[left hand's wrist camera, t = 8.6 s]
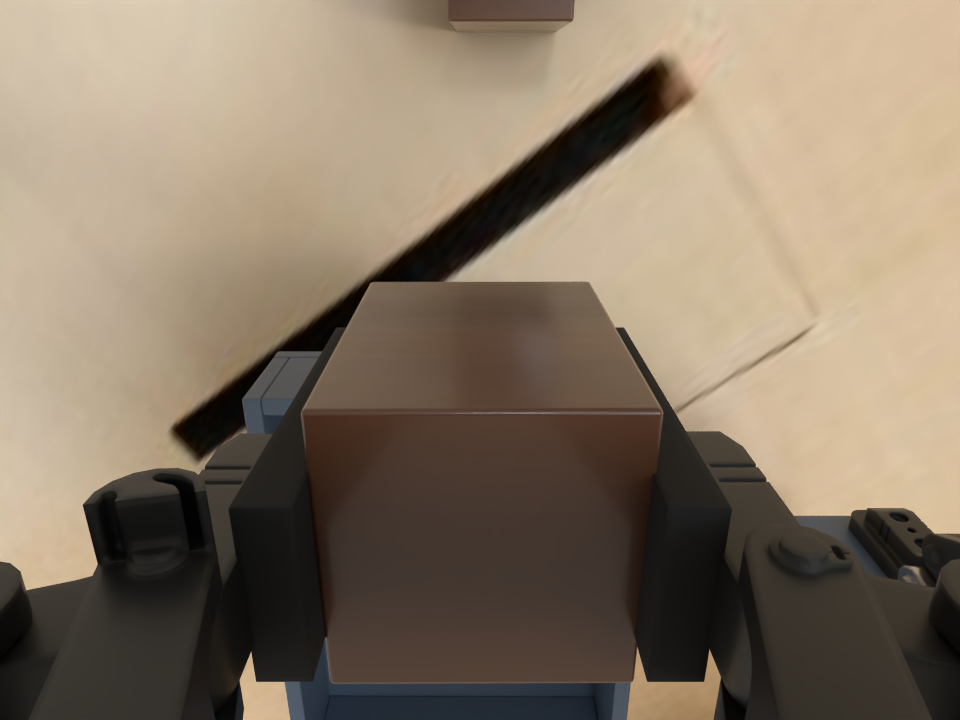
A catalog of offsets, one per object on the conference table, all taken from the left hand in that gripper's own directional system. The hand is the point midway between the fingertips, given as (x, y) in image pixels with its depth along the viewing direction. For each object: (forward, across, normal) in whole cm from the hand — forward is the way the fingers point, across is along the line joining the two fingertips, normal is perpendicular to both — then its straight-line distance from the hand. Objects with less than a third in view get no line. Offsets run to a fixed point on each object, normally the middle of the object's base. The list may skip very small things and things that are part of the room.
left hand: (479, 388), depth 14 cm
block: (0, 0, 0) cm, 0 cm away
